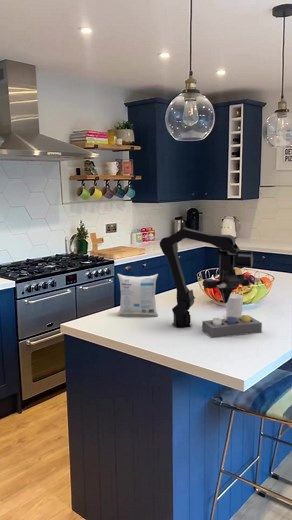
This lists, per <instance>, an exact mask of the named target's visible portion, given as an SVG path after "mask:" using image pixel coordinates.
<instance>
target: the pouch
mask: <svg viewBox="0 0 292 520" xmlns="http://www.w3.org/2000/svg"><path fill="white" fill-rule="evenodd" d="M117 277H118V280H119V286H120V287H119V289H120V303H119V304H120V307H119V311H118V316H120V315H124V314H133V313H134V314H135V313H140V314H149V315H153V316H156V317H159V313H158V311H157V306H156V305H157V304H156V289H157V288H156V286H157V285H156V283H157V279H158V277H159V273H156V274H153V275H149V276H144V275H143V276H132V275H131V276H130V275H123V274H121V273H117Z"/></svg>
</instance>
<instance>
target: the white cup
mask: <svg viewBox="0 0 292 520" xmlns="http://www.w3.org/2000/svg"><path fill="white" fill-rule="evenodd" d="M243 303H244V295H242V294H239V293H236V294H235V293H231V294H230V297H229V299H228V302H227V303H225V312H226V313H225V314H226V318H227V317H230V316H233V317H236V318H238V317H242V314H243V313H242V312H243V305H244V304H243Z"/></svg>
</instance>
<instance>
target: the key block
mask: <svg viewBox="0 0 292 520" xmlns="http://www.w3.org/2000/svg"><path fill="white" fill-rule="evenodd" d="M221 319H222V325H217V326H214V325H213V319H210V320H209V319H208V320H201V321H202V326H201V329H202V331H203V333H206V335H208V336H209V337H210V338H212V339H215V338H220V337H222V338H223V337H230V336H231V337H232V336H240V335H241V336H242V335H246V334H247V335H249V334H257V333H258V334H259V333H262V331H263V330H262V328H263V327H262V326H263V324H262V322H261V321H259V320H257V319H255V318H253V316H250V322H245V323H243V322H242V316H241V317H238V318H236V324H228V323H227V318H221Z"/></svg>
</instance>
